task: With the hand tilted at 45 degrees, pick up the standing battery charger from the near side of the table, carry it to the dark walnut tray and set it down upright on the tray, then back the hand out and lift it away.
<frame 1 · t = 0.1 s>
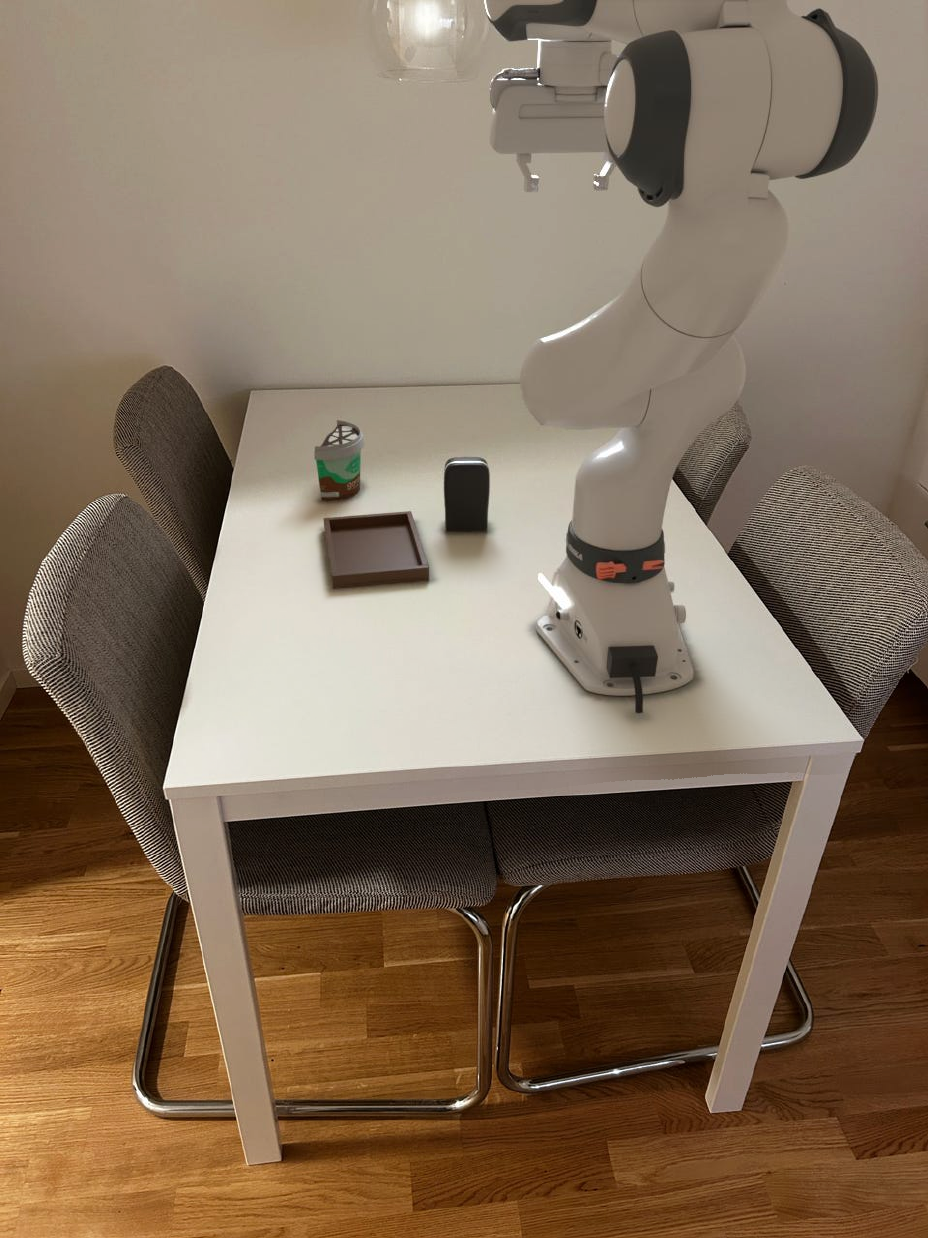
hand: (565, 190, 123), 48 cm above the table, tool pointing down, fingers open, 8 cm apart
battery charger: (466, 527, 147), on the table
tray: (374, 553, 139), on the table
food container: (348, 491, 157), on the table
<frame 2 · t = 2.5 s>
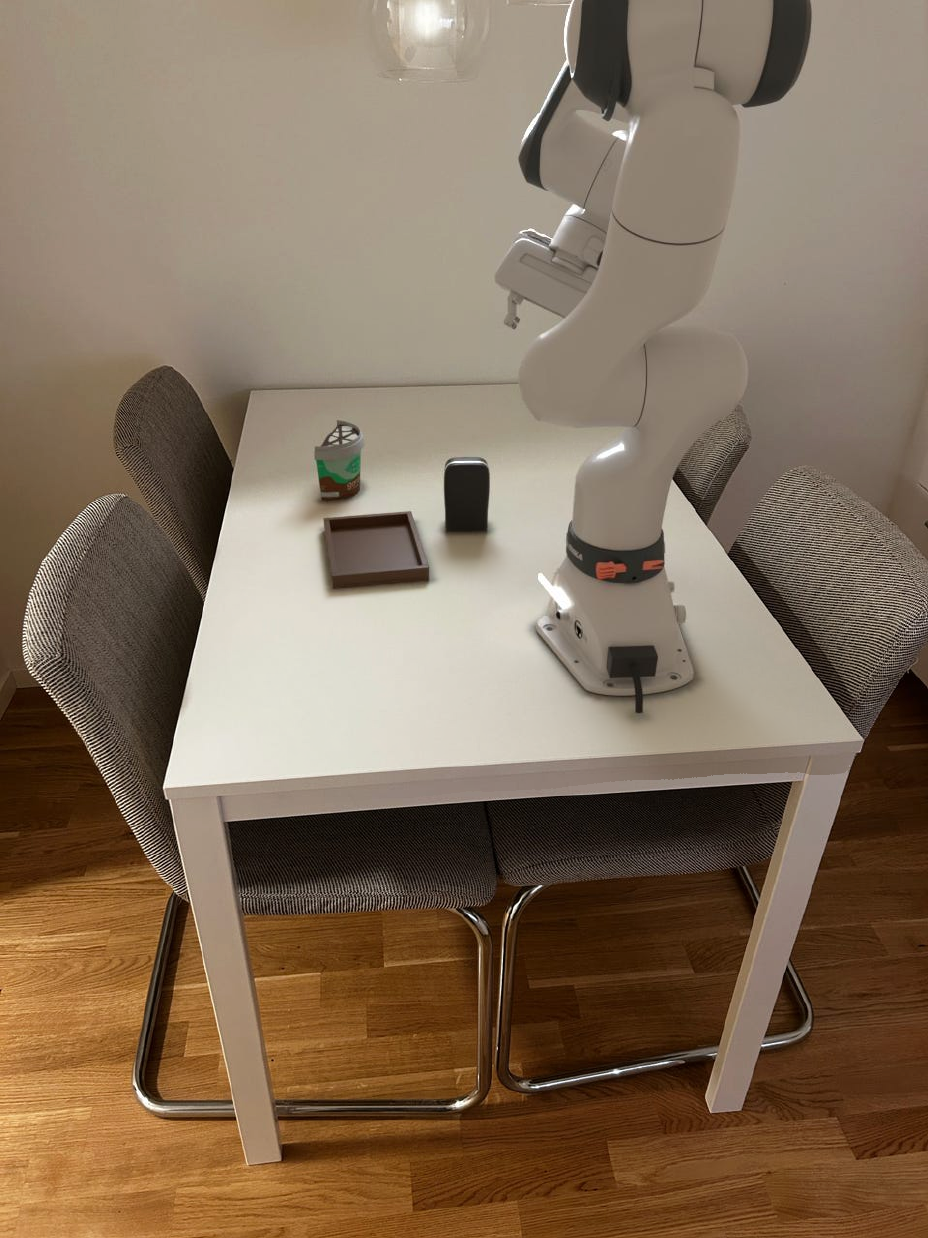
hand: (534, 339, 138), 27 cm above the table, tool tilted 35°, fingers open, 8 cm apart
nothing on the table moved.
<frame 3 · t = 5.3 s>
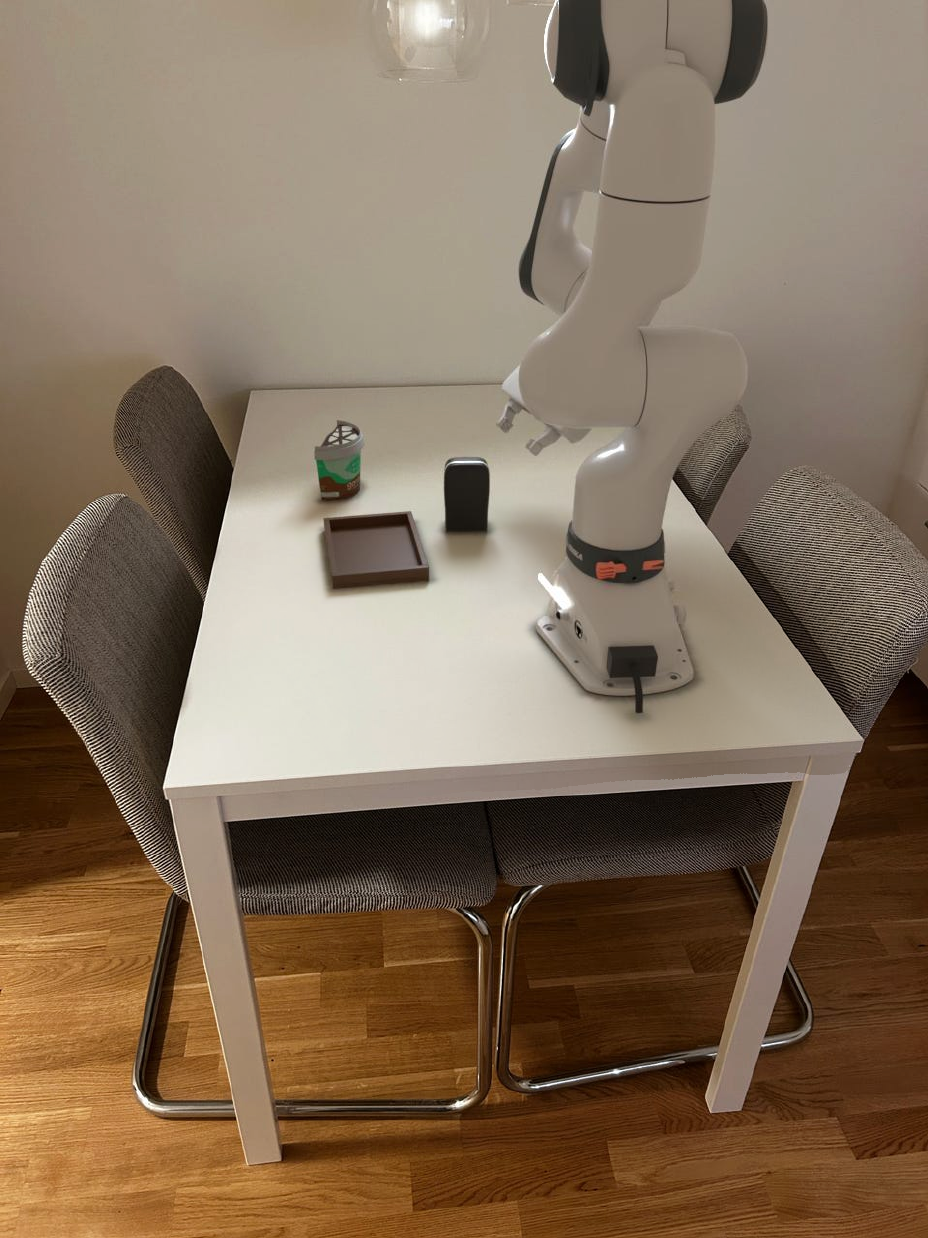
hand: (515, 440, 143), 13 cm above the table, tool tilted 45°, fingers open, 8 cm apart
nothing on the table moved.
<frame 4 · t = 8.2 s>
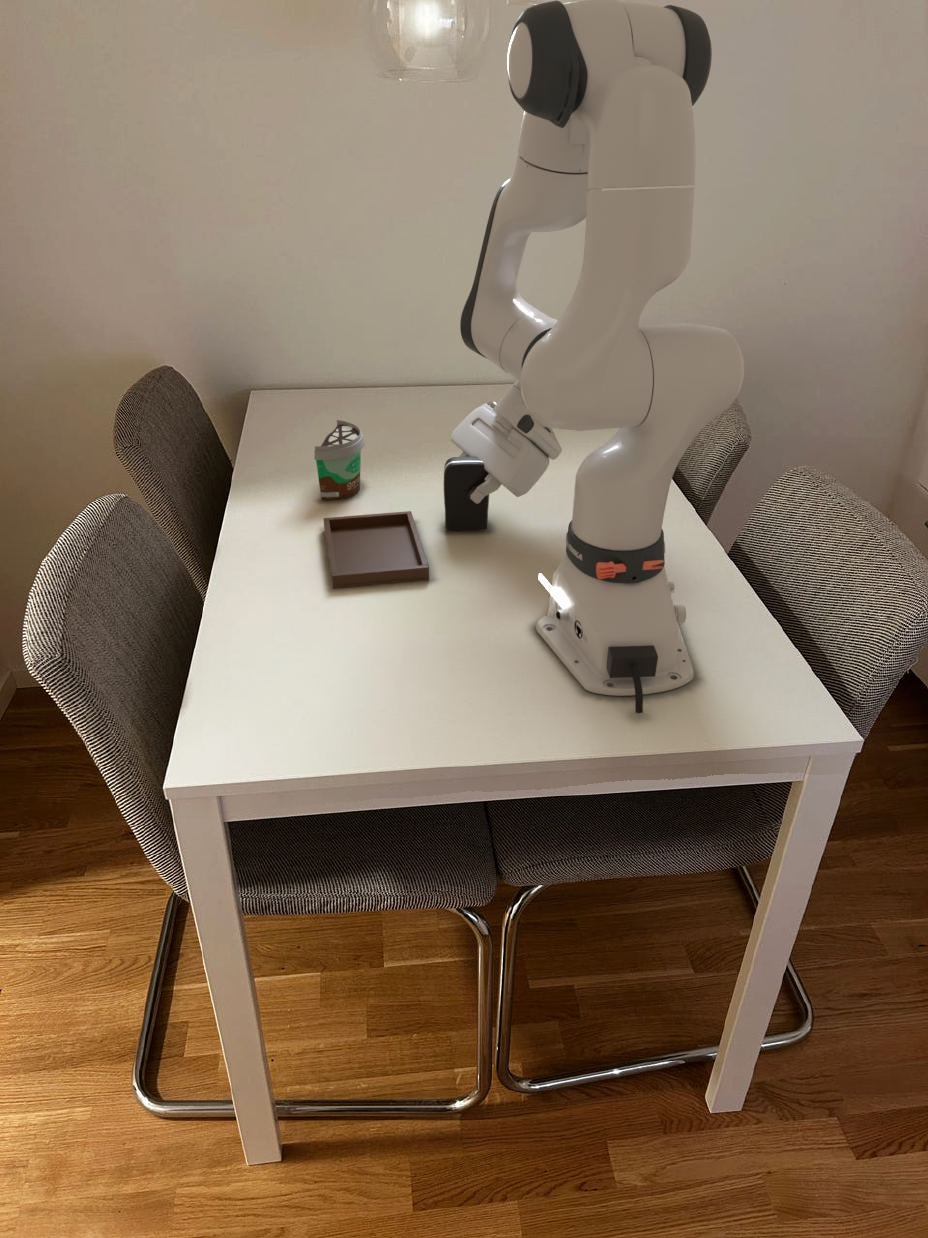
hand: (462, 491, 143), 6 cm above the table, tool tilted 45°, fingers closed on battery charger, 5 cm apart
battery charger: (465, 527, 147), on the table, touching gripper
everything else where it was.
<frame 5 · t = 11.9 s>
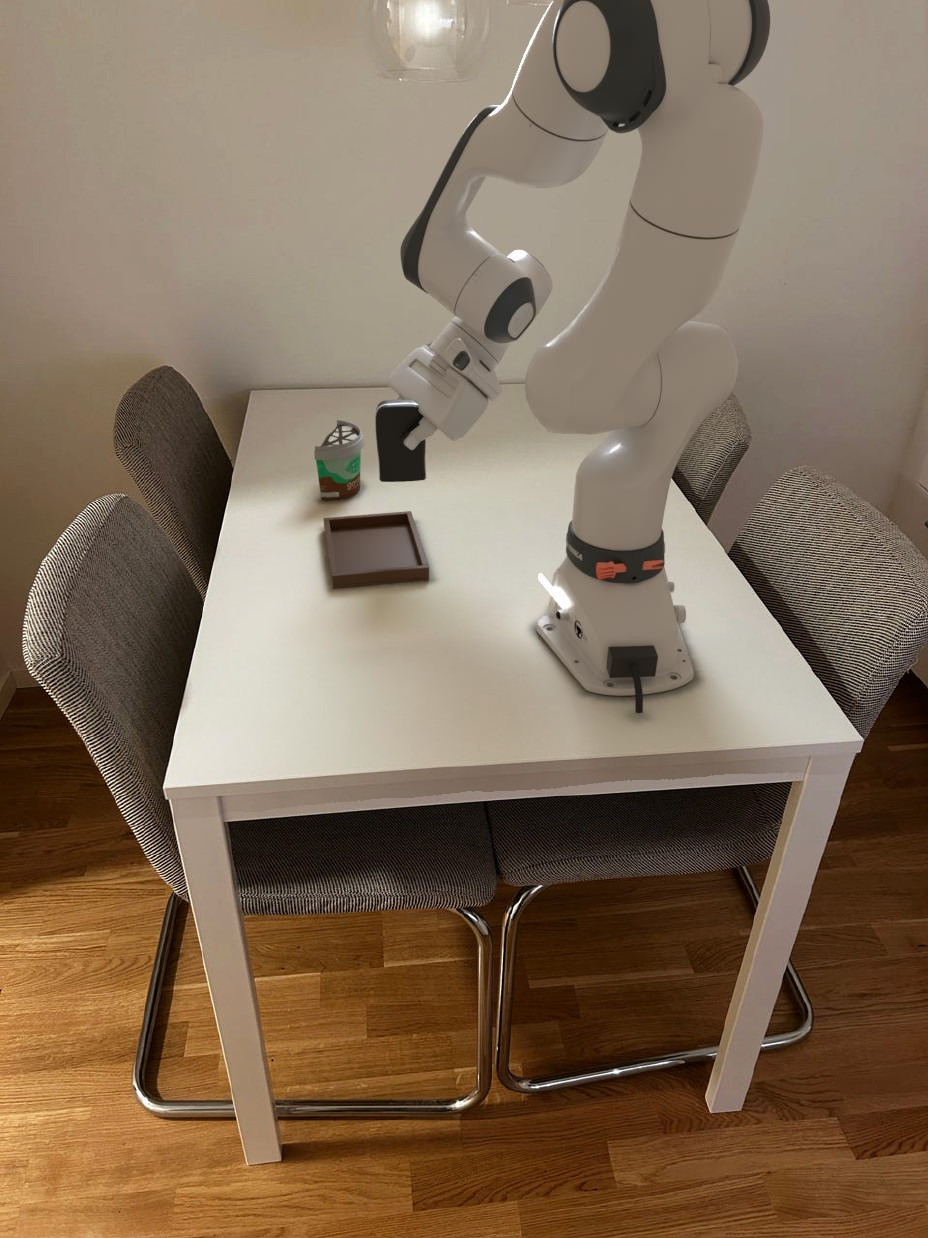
hand: (397, 437, 132), 17 cm above the table, tool tilted 45°, fingers closed on battery charger, 5 cm apart
battery charger: (402, 478, 136), point 11 cm above the table, touching gripper
everything else where it was.
when the fingers open (6 cm above the table, at t = 16.0 s): battery charger stays where it is, resting on tray.
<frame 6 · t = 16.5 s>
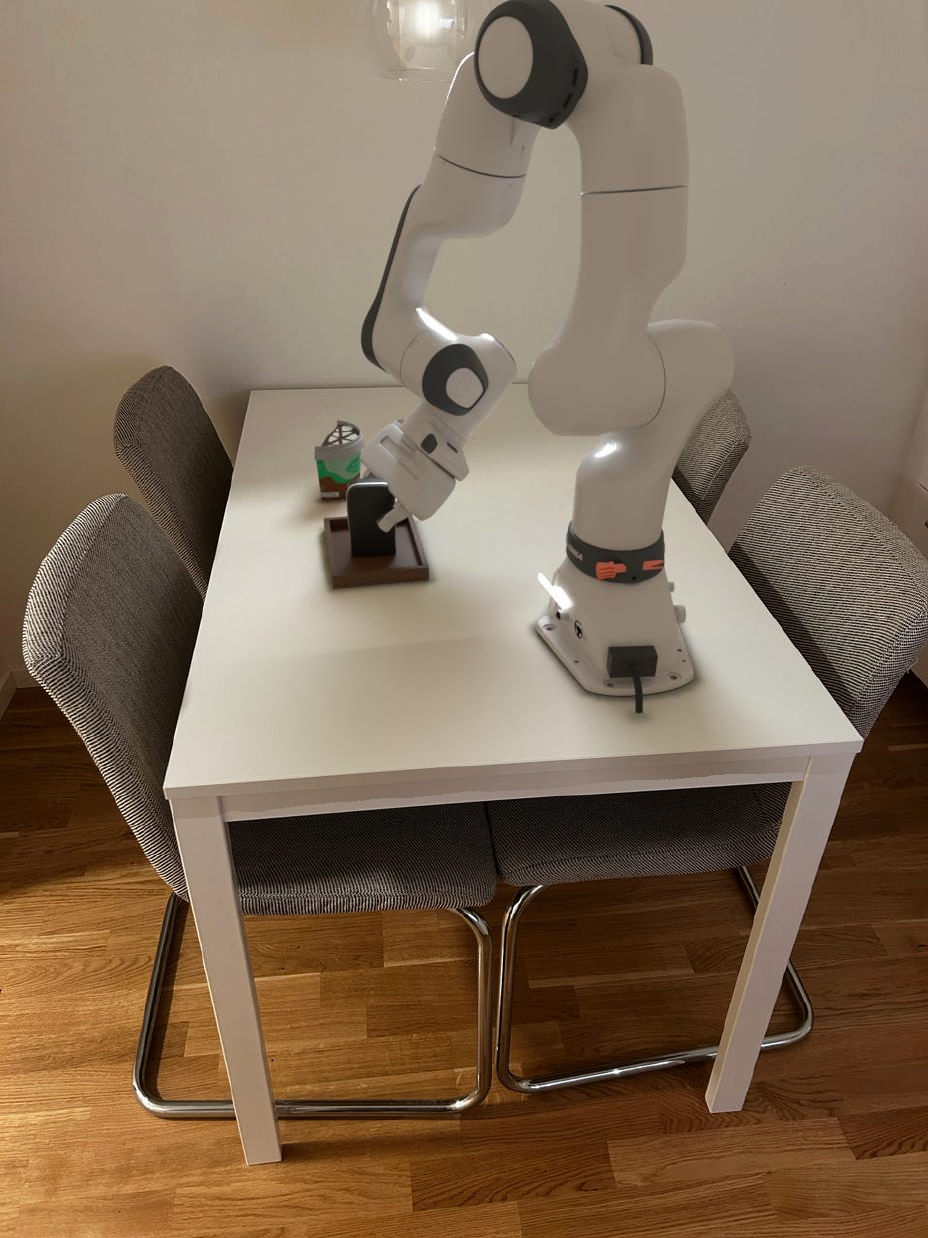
hand: (368, 514, 135), 7 cm above the table, tool tilted 45°, fingers open, 8 cm apart
battery charger: (373, 551, 139), resting on tray
everything else where it was.
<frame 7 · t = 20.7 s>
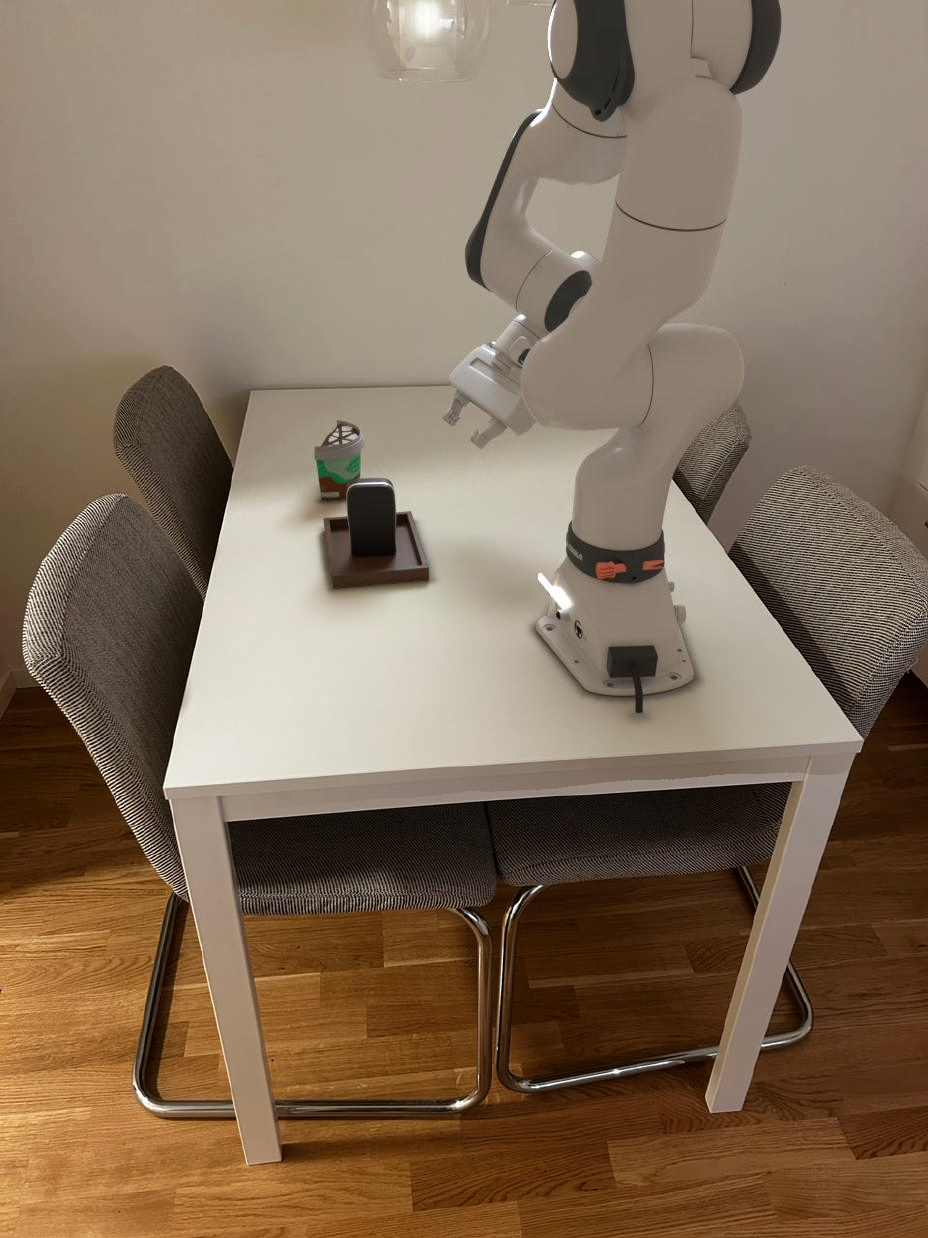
hand: (460, 433, 136), 16 cm above the table, tool tilted 45°, fingers open, 8 cm apart
nothing on the table moved.
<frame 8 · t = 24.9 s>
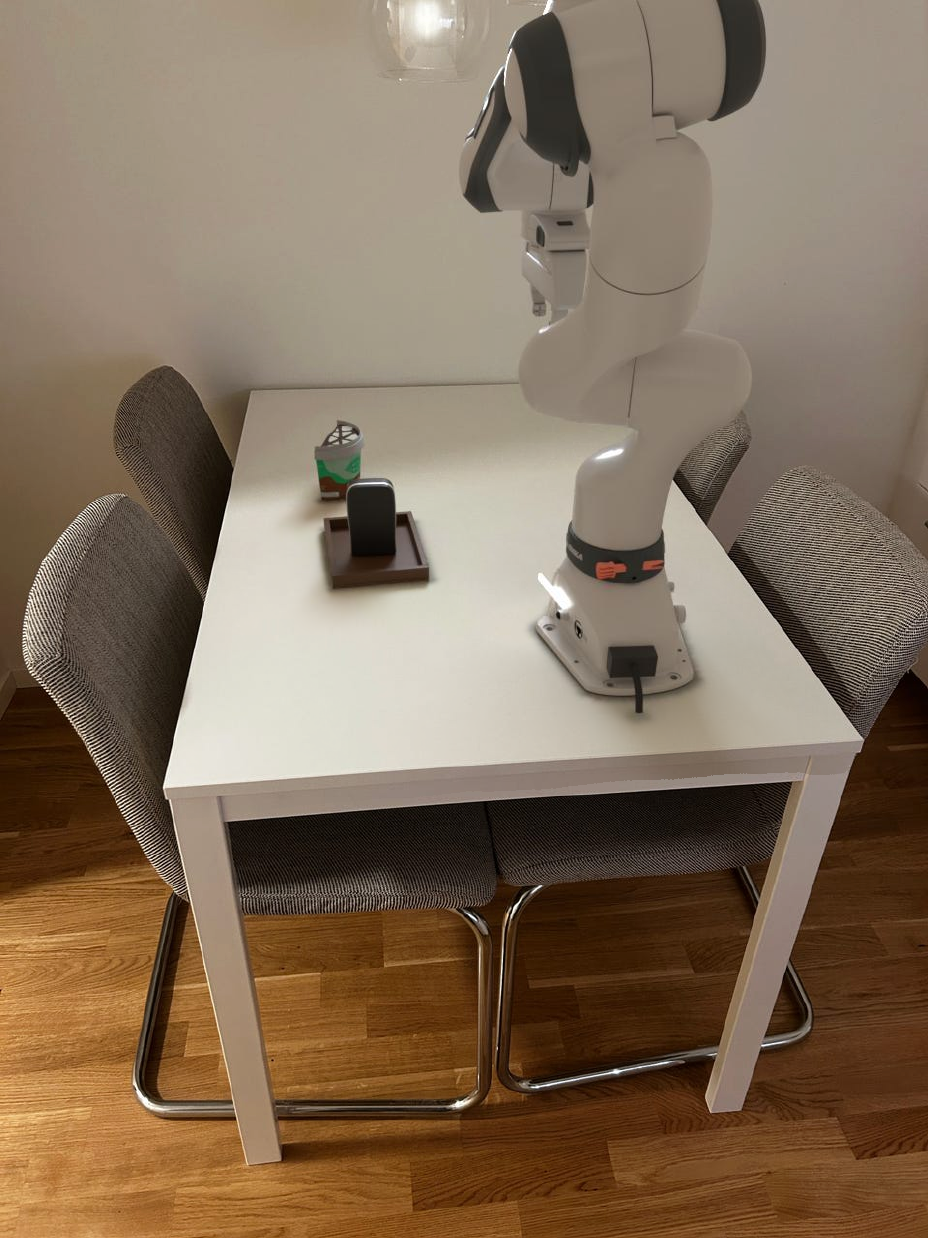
hand: (547, 324, 137), 29 cm above the table, tool pointing down, fingers open, 8 cm apart
nothing on the table moved.
at the end: battery charger inside the target area in the tray (0.1 cm from its centre), point 0.3 cm above the tray's base; battery charger tilted 0°; the gripper is holding nothing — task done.
